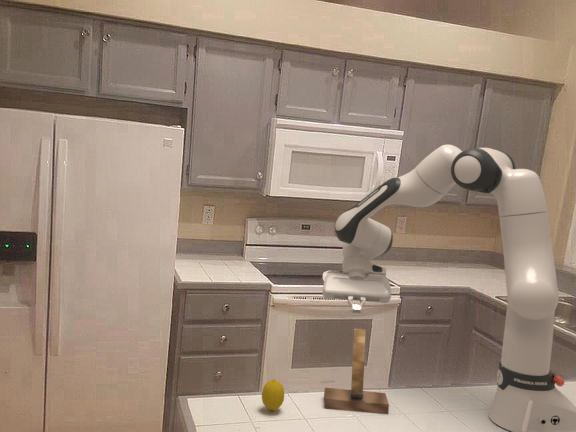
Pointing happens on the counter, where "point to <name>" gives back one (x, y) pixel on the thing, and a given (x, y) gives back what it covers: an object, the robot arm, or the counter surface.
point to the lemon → (273, 394)
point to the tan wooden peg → (358, 363)
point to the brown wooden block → (355, 401)
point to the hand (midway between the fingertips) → (356, 311)
